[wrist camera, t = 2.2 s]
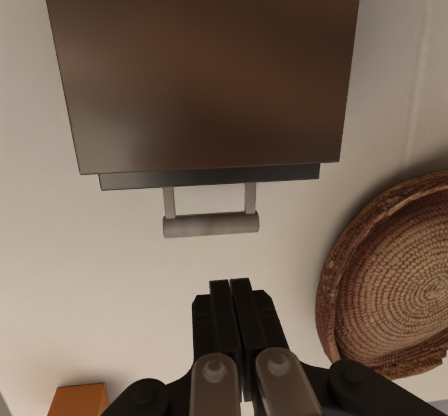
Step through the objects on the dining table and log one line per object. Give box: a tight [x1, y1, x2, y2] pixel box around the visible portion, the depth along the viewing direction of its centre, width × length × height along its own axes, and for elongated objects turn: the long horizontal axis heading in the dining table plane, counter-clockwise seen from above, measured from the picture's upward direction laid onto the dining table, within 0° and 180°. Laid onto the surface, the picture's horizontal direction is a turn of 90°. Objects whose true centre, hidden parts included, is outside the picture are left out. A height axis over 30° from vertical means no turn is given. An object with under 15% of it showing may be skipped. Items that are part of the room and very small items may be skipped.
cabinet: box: [46, 0, 359, 175], centre depth 19 cm, size 14×13×10 cm
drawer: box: [98, 163, 320, 238], centre depth 20 cm, size 17×11×8 cm
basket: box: [315, 170, 448, 381], centre depth 31 cm, size 22×20×5 cm
